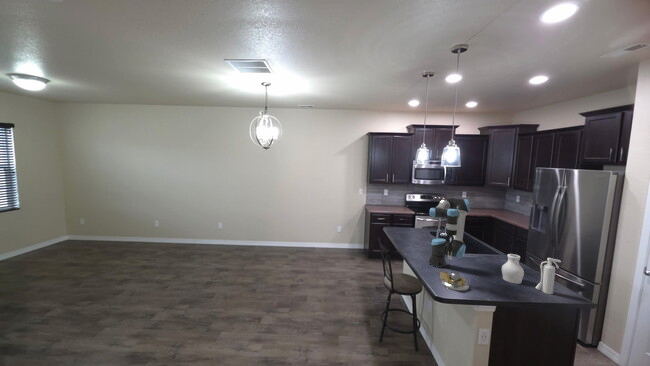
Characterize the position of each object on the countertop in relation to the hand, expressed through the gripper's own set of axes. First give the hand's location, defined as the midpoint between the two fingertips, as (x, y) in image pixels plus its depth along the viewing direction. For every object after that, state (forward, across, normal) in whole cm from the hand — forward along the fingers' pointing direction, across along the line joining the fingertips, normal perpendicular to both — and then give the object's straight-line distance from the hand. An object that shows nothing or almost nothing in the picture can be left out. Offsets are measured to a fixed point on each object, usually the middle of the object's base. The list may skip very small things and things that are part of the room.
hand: (449, 259), depth 198 cm
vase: (+17, -27, +44) cm, 54 cm away
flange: (+17, +8, +5) cm, 19 cm away
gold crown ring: (+14, +7, +3) cm, 16 cm away
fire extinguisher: (+17, -17, +63) cm, 67 cm away
